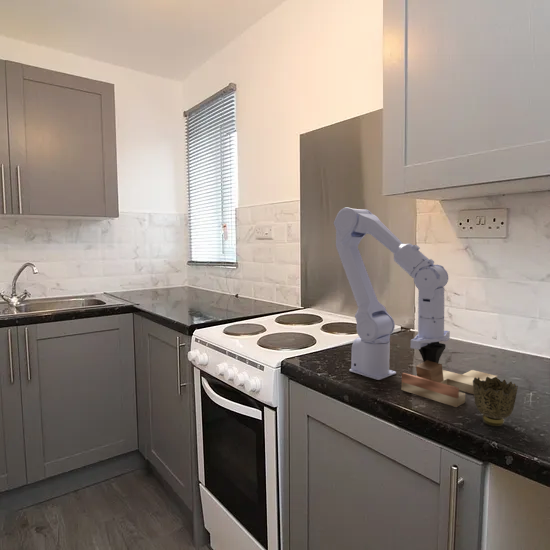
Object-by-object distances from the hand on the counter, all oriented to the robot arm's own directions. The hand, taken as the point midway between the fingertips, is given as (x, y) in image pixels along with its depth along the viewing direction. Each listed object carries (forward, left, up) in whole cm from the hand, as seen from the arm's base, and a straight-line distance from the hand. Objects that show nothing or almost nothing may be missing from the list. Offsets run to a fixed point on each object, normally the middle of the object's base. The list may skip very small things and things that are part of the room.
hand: (430, 373), depth 95 cm
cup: (+17, -9, -4) cm, 20 cm away
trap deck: (+3, +4, -3) cm, 6 cm away
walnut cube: (+1, -2, -1) cm, 3 cm away
